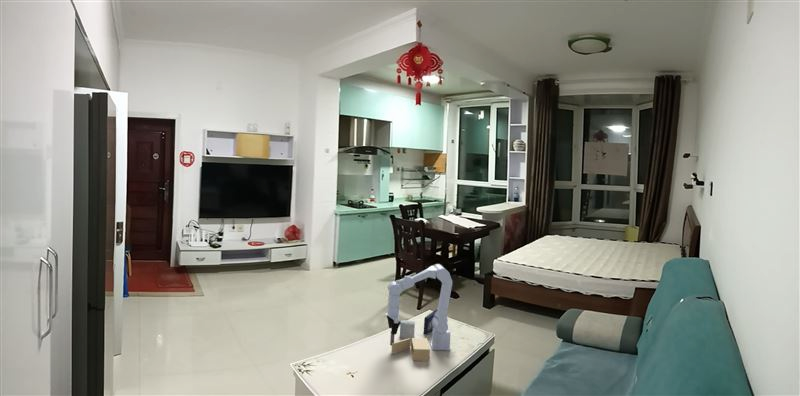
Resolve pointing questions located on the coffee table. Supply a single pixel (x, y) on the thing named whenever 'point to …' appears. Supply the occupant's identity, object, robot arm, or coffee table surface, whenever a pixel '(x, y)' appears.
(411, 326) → the medicine box
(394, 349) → the wooden box lid
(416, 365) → the coffee table surface
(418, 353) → the carton
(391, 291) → the robot arm
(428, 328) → the vhs cassette tape
